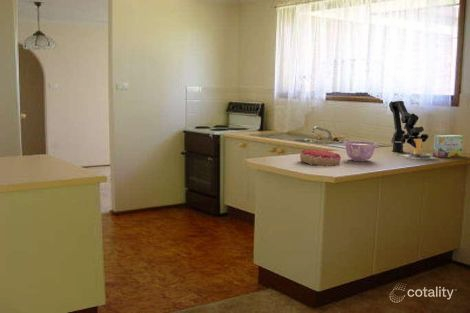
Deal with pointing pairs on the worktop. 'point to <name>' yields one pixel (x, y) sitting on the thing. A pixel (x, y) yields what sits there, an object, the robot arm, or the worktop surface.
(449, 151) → the snack box
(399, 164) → the worktop surface
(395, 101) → the robot arm
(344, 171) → the worktop surface
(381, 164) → the worktop surface
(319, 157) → the cake
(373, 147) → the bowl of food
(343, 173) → the worktop surface
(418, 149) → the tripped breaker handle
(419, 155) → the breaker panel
